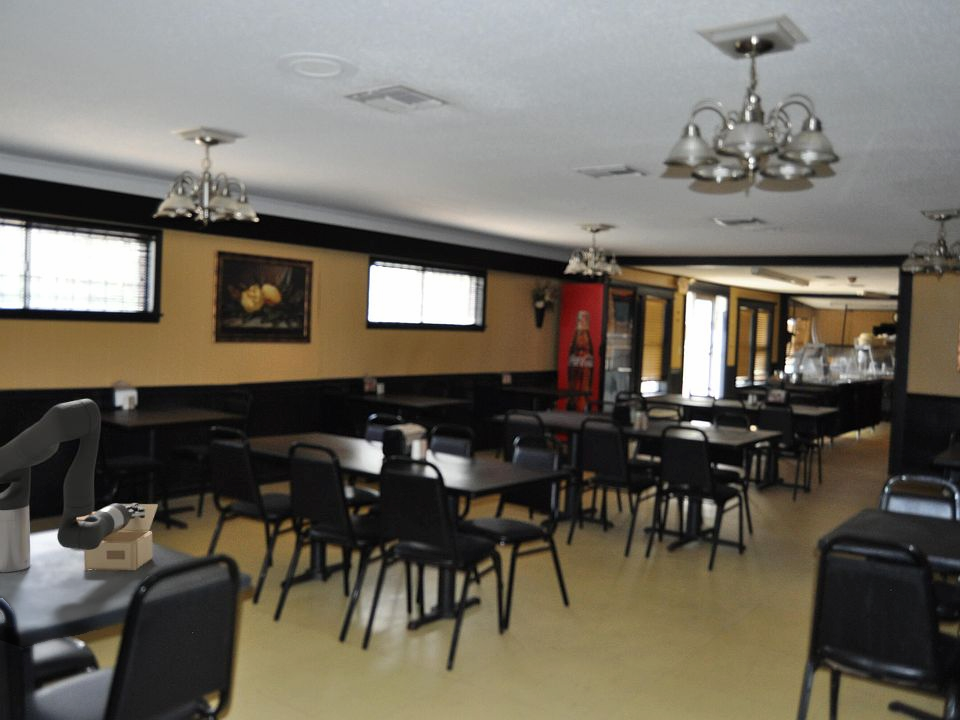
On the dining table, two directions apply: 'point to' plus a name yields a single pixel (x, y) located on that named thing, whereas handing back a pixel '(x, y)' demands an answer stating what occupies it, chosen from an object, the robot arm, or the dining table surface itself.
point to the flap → (142, 522)
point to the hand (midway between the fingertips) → (136, 506)
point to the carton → (120, 551)
